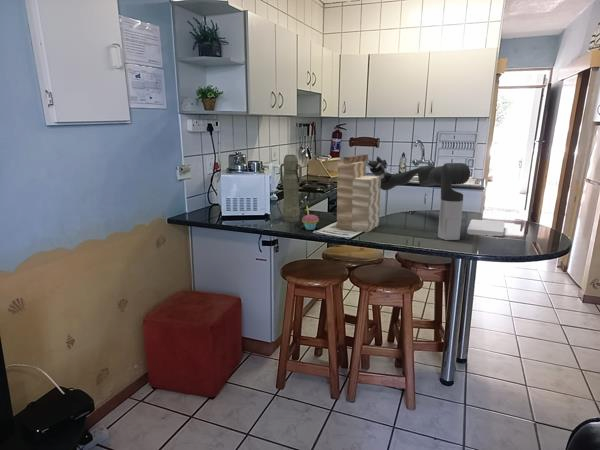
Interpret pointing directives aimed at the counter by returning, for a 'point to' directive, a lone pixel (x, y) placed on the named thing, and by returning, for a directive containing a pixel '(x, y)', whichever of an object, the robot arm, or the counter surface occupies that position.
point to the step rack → (357, 197)
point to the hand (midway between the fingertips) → (369, 157)
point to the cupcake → (310, 221)
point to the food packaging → (486, 228)
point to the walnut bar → (355, 158)
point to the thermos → (291, 188)
